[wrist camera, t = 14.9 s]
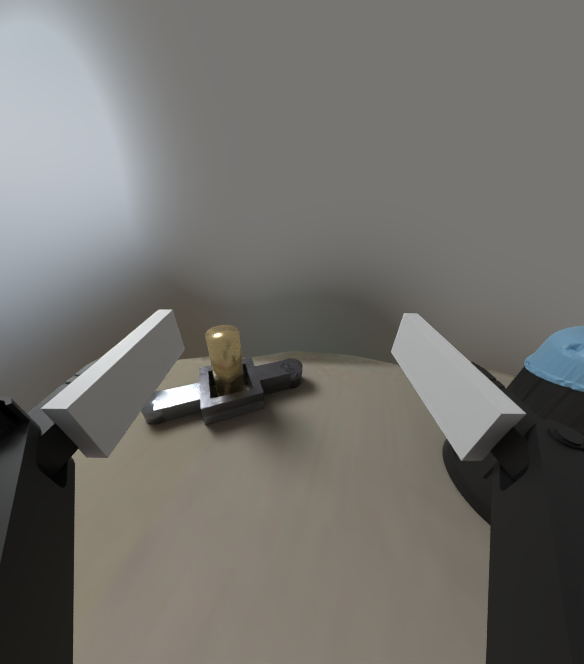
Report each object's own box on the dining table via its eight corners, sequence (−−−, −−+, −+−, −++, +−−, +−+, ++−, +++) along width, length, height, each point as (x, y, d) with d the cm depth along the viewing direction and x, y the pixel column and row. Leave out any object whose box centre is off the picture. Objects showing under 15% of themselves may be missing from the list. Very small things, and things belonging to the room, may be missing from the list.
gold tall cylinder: (243, 383, 43) (236, 322, 36) (247, 401, 39) (241, 338, 32) (217, 389, 41) (204, 327, 34) (219, 409, 38) (206, 344, 30)
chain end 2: (291, 363, 49) (292, 349, 47) (310, 395, 41) (312, 379, 39) (203, 383, 43) (199, 367, 41) (205, 424, 35) (200, 408, 33)
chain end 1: (252, 372, 46) (251, 361, 44) (264, 408, 38) (263, 396, 37) (150, 394, 40) (145, 383, 38) (139, 443, 32) (132, 431, 30)
